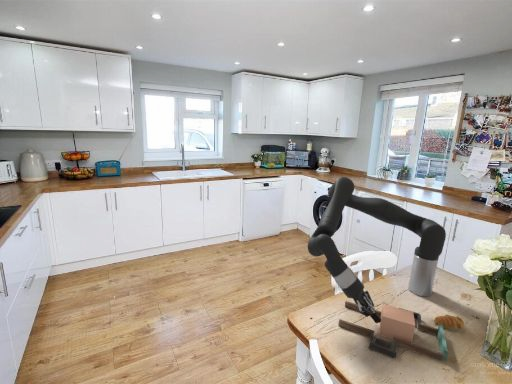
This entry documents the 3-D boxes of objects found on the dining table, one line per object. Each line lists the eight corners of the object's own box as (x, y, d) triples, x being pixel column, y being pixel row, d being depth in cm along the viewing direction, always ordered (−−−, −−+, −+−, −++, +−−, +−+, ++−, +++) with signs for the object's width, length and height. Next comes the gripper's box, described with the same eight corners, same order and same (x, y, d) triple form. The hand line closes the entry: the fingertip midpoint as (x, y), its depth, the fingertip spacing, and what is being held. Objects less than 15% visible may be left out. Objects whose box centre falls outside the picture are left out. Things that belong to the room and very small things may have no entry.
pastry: (439, 330, 101) (441, 321, 100) (430, 318, 108) (431, 309, 107) (466, 333, 100) (468, 324, 99) (455, 321, 107) (457, 312, 106)
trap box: (347, 297, 119) (348, 288, 118) (437, 323, 104) (439, 314, 103) (334, 336, 95) (335, 326, 94) (448, 378, 81) (451, 366, 80)
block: (379, 321, 104) (382, 303, 103) (409, 330, 100) (413, 311, 99) (379, 334, 97) (382, 316, 96) (411, 344, 93) (415, 325, 91)
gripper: (343, 277, 110) (372, 314, 107) (336, 294, 98) (368, 336, 96) (359, 269, 106) (389, 307, 104) (353, 285, 95) (387, 329, 92)
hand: (378, 321), depth 100 cm, fingers closed
